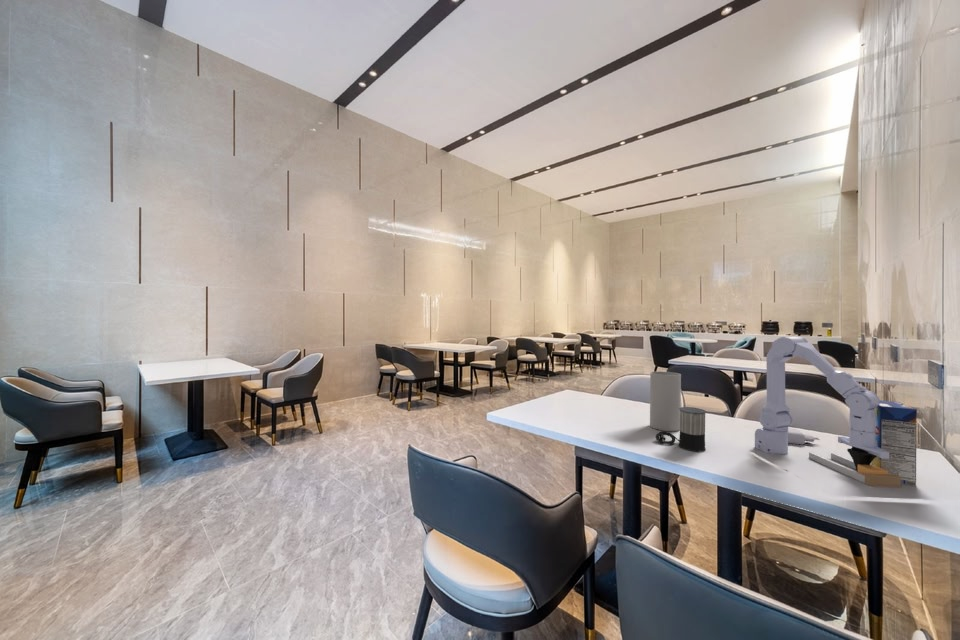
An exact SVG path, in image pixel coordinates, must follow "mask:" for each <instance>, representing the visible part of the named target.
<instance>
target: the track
mask: <svg viewBox="0 0 960 640" xmlns="http://www.w3.org/2000/svg"><path fill="white" fill-rule="evenodd" d="M808 459H810V460H813V461H815V462H817V463H819V464H821V465H822V466H823V465H824V466H825V467H828V468H829V469H832V470H834V471H837V472H838V473H841V474H842V475H845V476H846V477H850V478H851V479H854V480H855V481H858V482H860V483H862V484H864V485H867V486H869V487H887V488H890V487H891V488H901V483H900V479H901V477H900V476H897V475H892V474H865V475H862V474H860V473H858V472H857V470H856V467H855V464H854V461H853V459H849V458H847V457H844V456H842V455H839V454H836V453H835V452H831V453H830V458H829V457H827V458H826V457H823V456H822V455H819V454H816V453H814V452H812V451H811V452H810V451H809V452H808Z"/></svg>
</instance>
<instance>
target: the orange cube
mask: <svg viewBox="0 0 960 640" xmlns="http://www.w3.org/2000/svg"><path fill="white" fill-rule="evenodd" d="M858 473H860V474H862V475H865V474H888V471H887V470H884V469H882V468H879V467H877V466H874V465H858Z"/></svg>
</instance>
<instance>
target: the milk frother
mask: <svg viewBox="0 0 960 640" xmlns="http://www.w3.org/2000/svg"><path fill="white" fill-rule="evenodd" d="M679 410H680V430H679V439H678V438H677V437H676V435H674V434H672V433H671V432H670V431H662V430H660V431H659V432H657V433H656V435H655V439H656V440H657V442H659V443H661V444H663V445H673V444H675V442H676V441H678V446H679V448H681V449H684V450H686V451H690V450H691V451H692V452H704V451H706V449H707V447H706V413H707V411H706V410H704V409H702V408H698V407H691V406H681V408H679ZM665 436H668V437H670V438H671V440H666V437H665Z"/></svg>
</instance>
